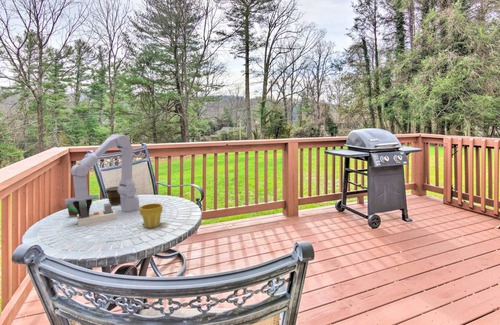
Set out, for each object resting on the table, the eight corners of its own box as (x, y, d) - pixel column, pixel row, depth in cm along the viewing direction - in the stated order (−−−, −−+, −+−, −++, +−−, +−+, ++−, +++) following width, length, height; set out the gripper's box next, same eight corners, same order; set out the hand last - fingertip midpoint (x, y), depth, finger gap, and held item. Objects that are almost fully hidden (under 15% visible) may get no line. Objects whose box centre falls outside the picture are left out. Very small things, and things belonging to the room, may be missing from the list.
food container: (77, 219, 152) (75, 201, 150) (67, 219, 153) (65, 201, 152) (94, 212, 164) (92, 195, 162) (84, 211, 165) (83, 194, 164)
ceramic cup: (119, 200, 187) (117, 185, 186) (128, 203, 181) (126, 187, 180) (99, 205, 177) (97, 189, 175) (107, 208, 171) (106, 192, 169)
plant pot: (144, 222, 147) (143, 203, 145) (165, 221, 147) (164, 202, 146) (138, 229, 136) (136, 209, 135) (160, 228, 137) (159, 208, 136)
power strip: (113, 215, 157) (113, 207, 156) (116, 221, 149) (115, 212, 148) (77, 222, 148) (76, 213, 148) (78, 228, 140) (77, 218, 139)
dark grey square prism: (87, 217, 148) (86, 204, 147) (88, 220, 144) (86, 206, 143) (80, 218, 146) (79, 205, 145) (81, 221, 142) (79, 207, 141)
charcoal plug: (111, 215, 154) (110, 203, 153) (112, 218, 150) (111, 205, 149) (105, 217, 152) (103, 204, 151) (106, 219, 149) (104, 206, 148)
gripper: (63, 192, 136) (67, 220, 138) (98, 188, 143) (100, 214, 145) (63, 189, 142) (67, 216, 144) (97, 185, 149) (99, 210, 151)
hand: (84, 215), depth 145 cm, fingers closed on dark grey square prism, 3 cm apart
